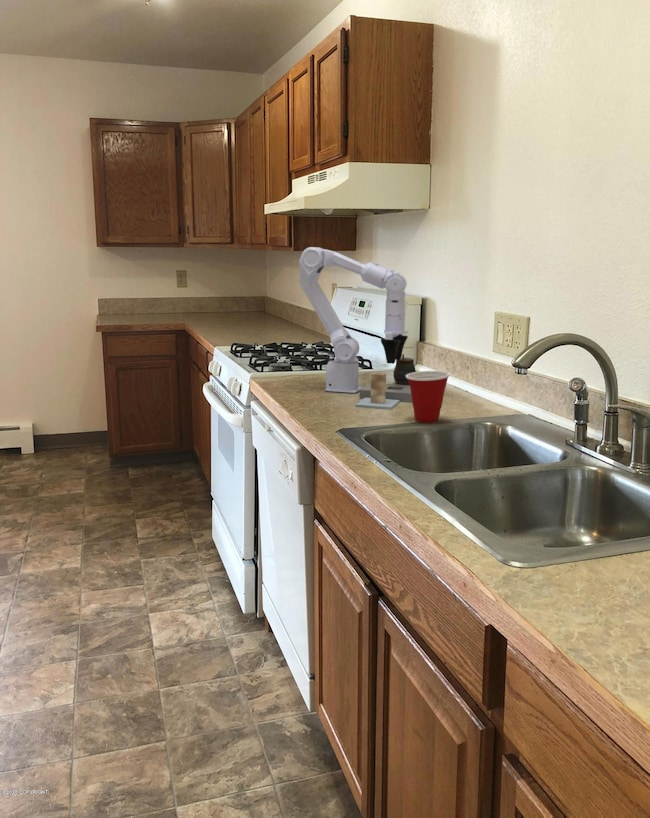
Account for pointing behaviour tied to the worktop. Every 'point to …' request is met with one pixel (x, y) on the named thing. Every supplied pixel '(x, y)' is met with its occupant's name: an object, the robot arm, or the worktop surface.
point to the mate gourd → (403, 369)
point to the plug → (378, 388)
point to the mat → (386, 405)
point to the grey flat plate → (390, 392)
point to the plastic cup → (427, 394)
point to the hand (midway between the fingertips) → (393, 361)
